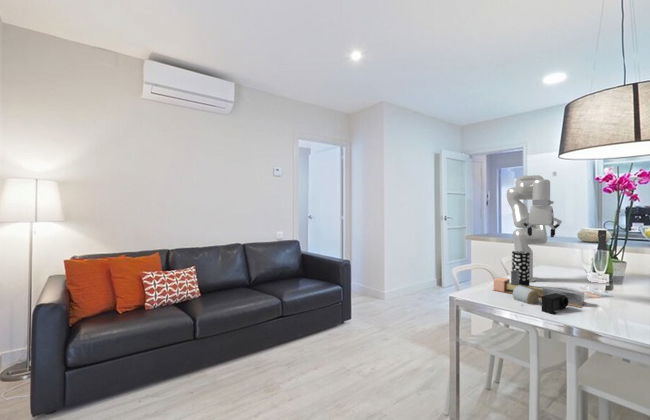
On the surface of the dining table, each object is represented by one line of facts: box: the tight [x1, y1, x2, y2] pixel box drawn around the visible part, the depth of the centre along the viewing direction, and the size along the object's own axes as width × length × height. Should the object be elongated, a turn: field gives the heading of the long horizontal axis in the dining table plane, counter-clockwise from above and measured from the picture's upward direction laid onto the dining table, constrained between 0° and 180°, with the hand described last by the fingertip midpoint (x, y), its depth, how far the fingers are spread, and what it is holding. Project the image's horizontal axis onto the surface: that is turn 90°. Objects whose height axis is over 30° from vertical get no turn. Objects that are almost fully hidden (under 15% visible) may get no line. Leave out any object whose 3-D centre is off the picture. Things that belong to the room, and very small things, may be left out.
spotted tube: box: [511, 250, 530, 286], centre depth 171 cm, size 8×8×20 cm
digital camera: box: [541, 293, 569, 315], centre depth 134 cm, size 10×5×7 cm, turn 115°
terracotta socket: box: [493, 276, 510, 292], centre depth 165 cm, size 8×5×6 cm, turn 130°
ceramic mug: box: [512, 285, 540, 305], centre depth 146 cm, size 11×8×8 cm
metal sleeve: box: [543, 286, 585, 307], centre depth 144 cm, size 5×15×5 cm, turn 40°
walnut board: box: [491, 289, 587, 309], centre depth 153 cm, size 12×37×1 cm, turn 40°
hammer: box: [505, 270, 543, 296], centre depth 156 cm, size 4×22×10 cm, turn 40°
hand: (540, 236), depth 158 cm, fingers open, 9 cm apart
